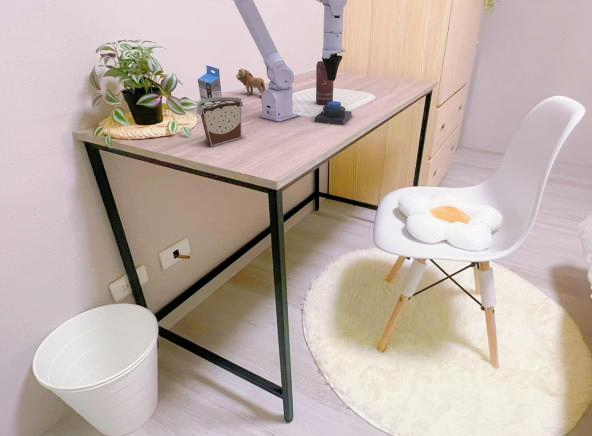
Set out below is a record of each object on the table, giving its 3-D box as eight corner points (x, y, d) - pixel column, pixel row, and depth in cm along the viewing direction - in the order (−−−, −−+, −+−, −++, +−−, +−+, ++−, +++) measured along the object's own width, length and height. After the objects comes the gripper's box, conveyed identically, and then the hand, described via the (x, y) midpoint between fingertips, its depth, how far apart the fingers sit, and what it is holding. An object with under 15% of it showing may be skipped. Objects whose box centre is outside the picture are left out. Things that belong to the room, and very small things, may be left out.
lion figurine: (235, 94, 141) (233, 68, 136) (244, 91, 145) (242, 67, 140) (266, 99, 135) (265, 73, 131) (275, 96, 139) (274, 71, 135)
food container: (231, 131, 102) (227, 94, 97) (246, 136, 99) (242, 98, 94) (191, 141, 94) (185, 101, 89) (206, 147, 90) (200, 106, 85)
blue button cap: (338, 111, 113) (338, 104, 112) (326, 109, 114) (326, 103, 113) (341, 108, 116) (342, 102, 115) (329, 106, 117) (329, 100, 116)
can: (333, 106, 131) (334, 63, 123) (315, 105, 131) (315, 62, 123) (333, 101, 136) (335, 61, 129) (316, 101, 136) (317, 60, 129)
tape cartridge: (200, 104, 126) (194, 65, 119) (211, 102, 128) (206, 64, 122) (213, 110, 120) (208, 69, 114) (224, 108, 123) (219, 68, 116)
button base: (343, 125, 111) (343, 113, 109) (314, 122, 113) (314, 110, 111) (351, 116, 120) (352, 105, 118) (325, 113, 122) (325, 102, 120)
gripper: (339, 35, 103) (337, 85, 110) (351, 31, 115) (349, 77, 122) (315, 33, 105) (315, 83, 112) (330, 30, 117) (328, 75, 124)
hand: (331, 80), depth 117 cm, fingers closed
